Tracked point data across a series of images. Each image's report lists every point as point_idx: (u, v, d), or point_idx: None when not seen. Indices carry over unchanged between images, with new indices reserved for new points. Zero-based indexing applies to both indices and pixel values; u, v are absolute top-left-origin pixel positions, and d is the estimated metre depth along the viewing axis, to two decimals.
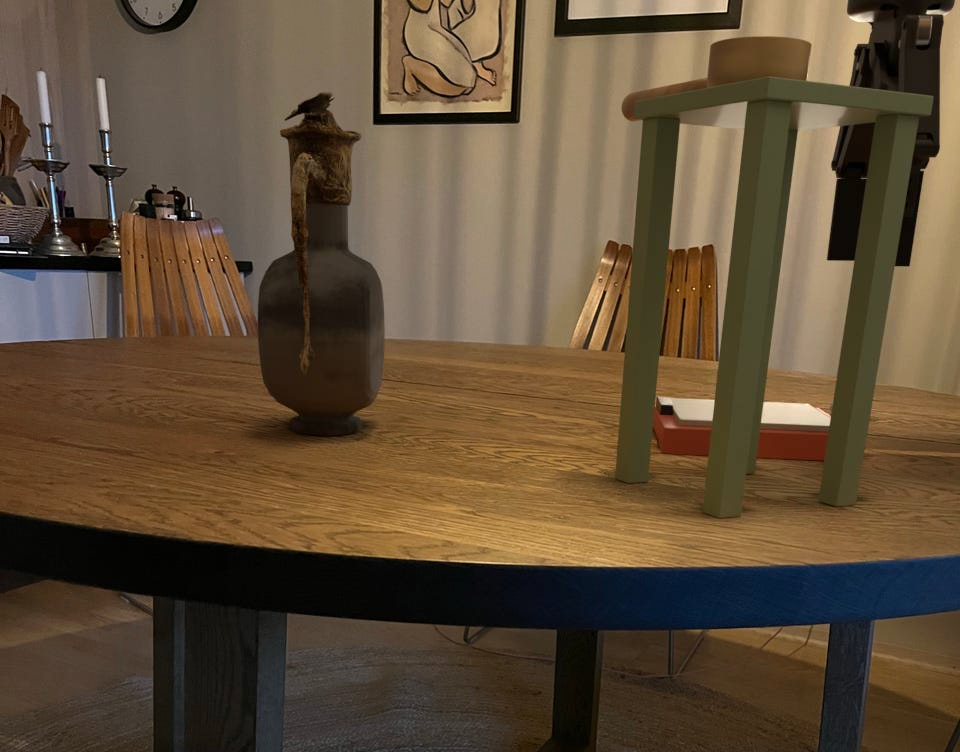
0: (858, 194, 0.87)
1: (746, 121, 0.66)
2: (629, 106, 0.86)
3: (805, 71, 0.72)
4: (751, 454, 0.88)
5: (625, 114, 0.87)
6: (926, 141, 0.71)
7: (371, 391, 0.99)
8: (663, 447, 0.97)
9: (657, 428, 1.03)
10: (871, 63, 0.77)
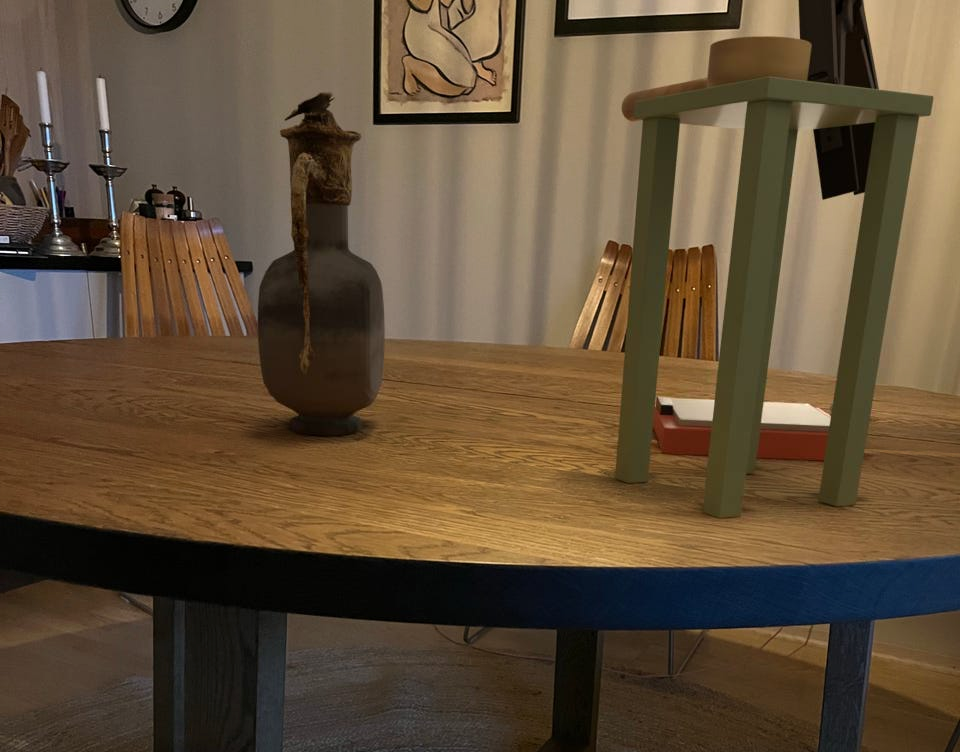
0: (867, 126, 0.90)
1: (746, 121, 0.66)
2: (629, 106, 0.86)
3: (805, 71, 0.72)
4: (751, 454, 0.88)
5: (625, 114, 0.87)
6: (822, 79, 0.77)
7: (371, 391, 0.99)
8: (663, 447, 0.97)
9: (657, 428, 1.03)
10: None
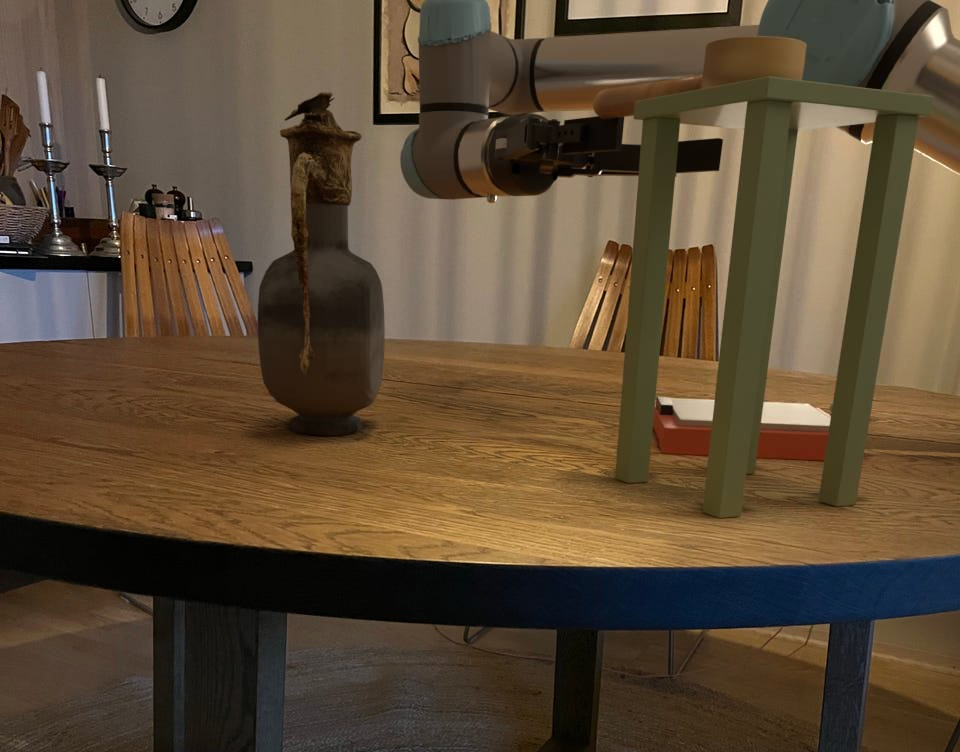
0: None
1: (746, 121, 0.66)
2: (603, 103, 0.85)
3: (802, 72, 0.73)
4: (751, 454, 0.88)
5: (598, 111, 0.86)
6: (527, 129, 0.91)
7: (371, 391, 0.99)
8: (663, 447, 0.97)
9: (657, 428, 1.03)
10: (548, 172, 1.01)
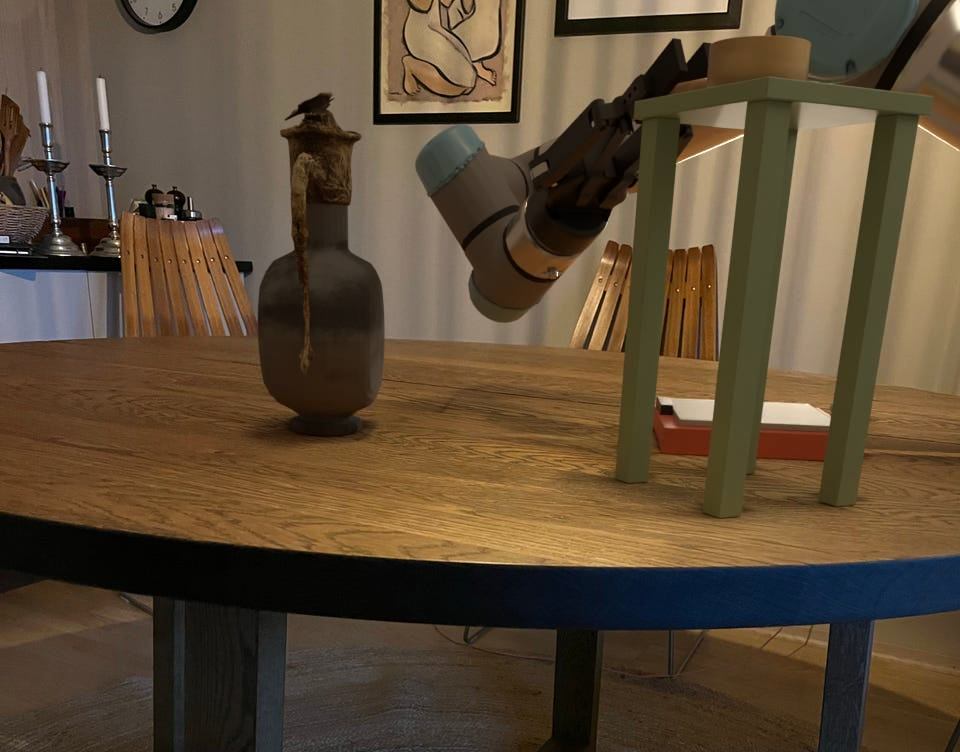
0: None
1: (746, 121, 0.66)
2: None
3: (805, 69, 0.72)
4: (751, 454, 0.88)
5: None
6: (592, 115, 0.85)
7: (371, 391, 0.99)
8: (663, 447, 0.97)
9: (657, 428, 1.03)
10: (588, 198, 0.94)
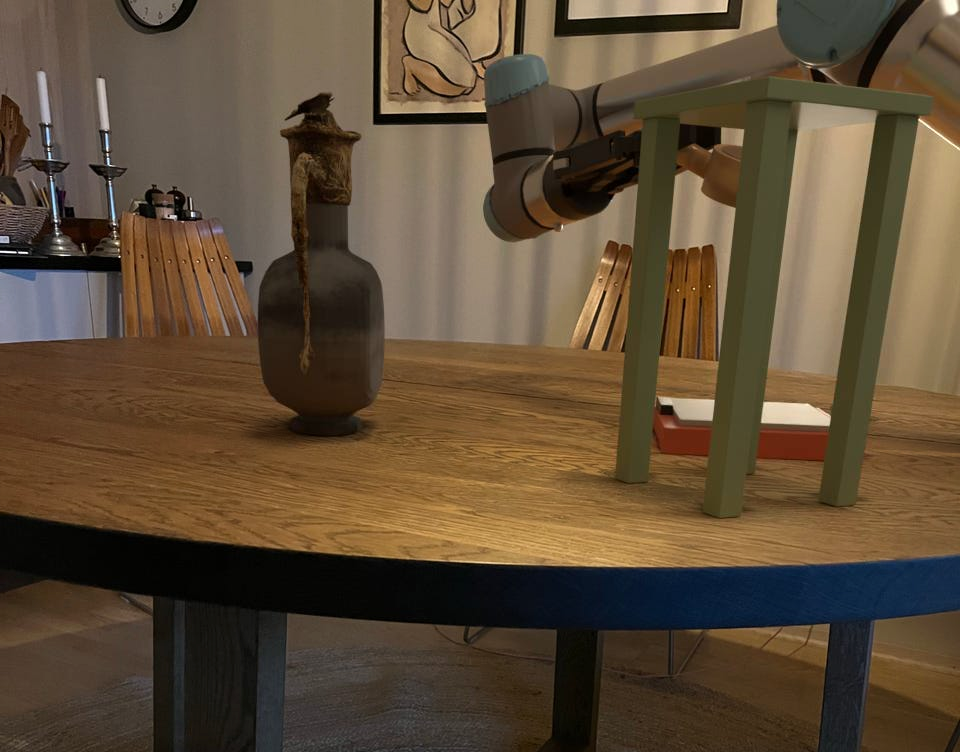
0: None
1: (746, 121, 0.66)
2: None
3: None
4: (751, 454, 0.88)
5: None
6: (613, 142, 1.00)
7: (371, 391, 0.99)
8: (663, 447, 0.97)
9: (657, 428, 1.03)
10: (598, 189, 1.09)
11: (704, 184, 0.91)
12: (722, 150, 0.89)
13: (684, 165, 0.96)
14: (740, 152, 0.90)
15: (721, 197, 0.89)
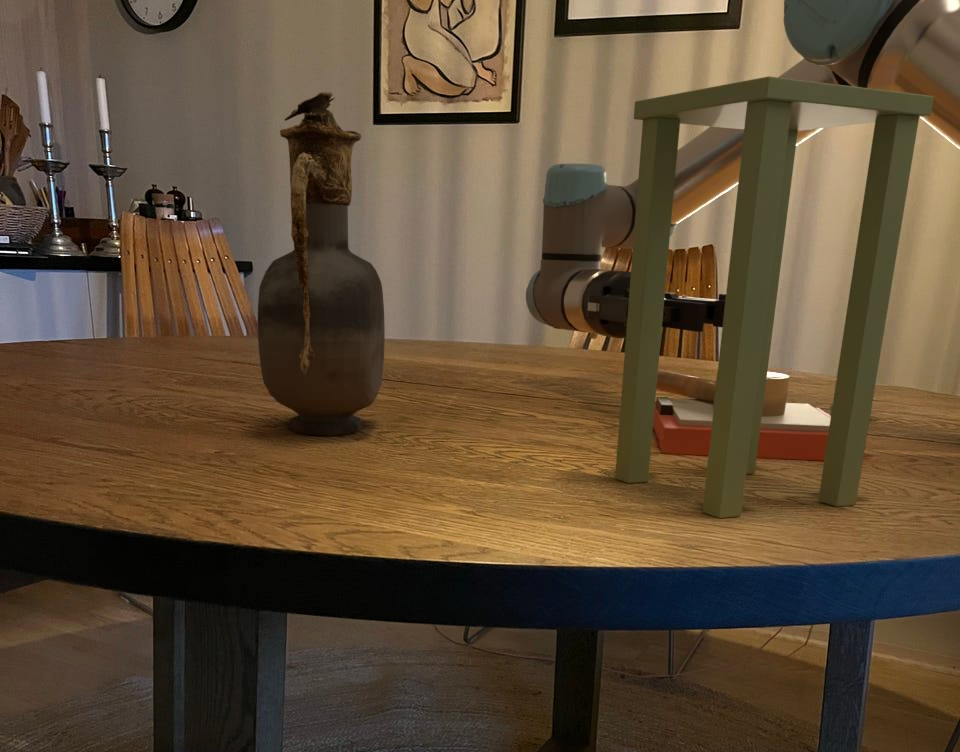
0: (721, 309, 1.10)
1: (746, 121, 0.66)
2: None
3: (785, 396, 1.01)
4: (751, 454, 0.88)
5: None
6: None
7: (371, 391, 0.99)
8: (663, 447, 0.97)
9: (657, 428, 1.03)
10: None
11: None
12: None
13: (695, 395, 1.10)
14: None
15: None
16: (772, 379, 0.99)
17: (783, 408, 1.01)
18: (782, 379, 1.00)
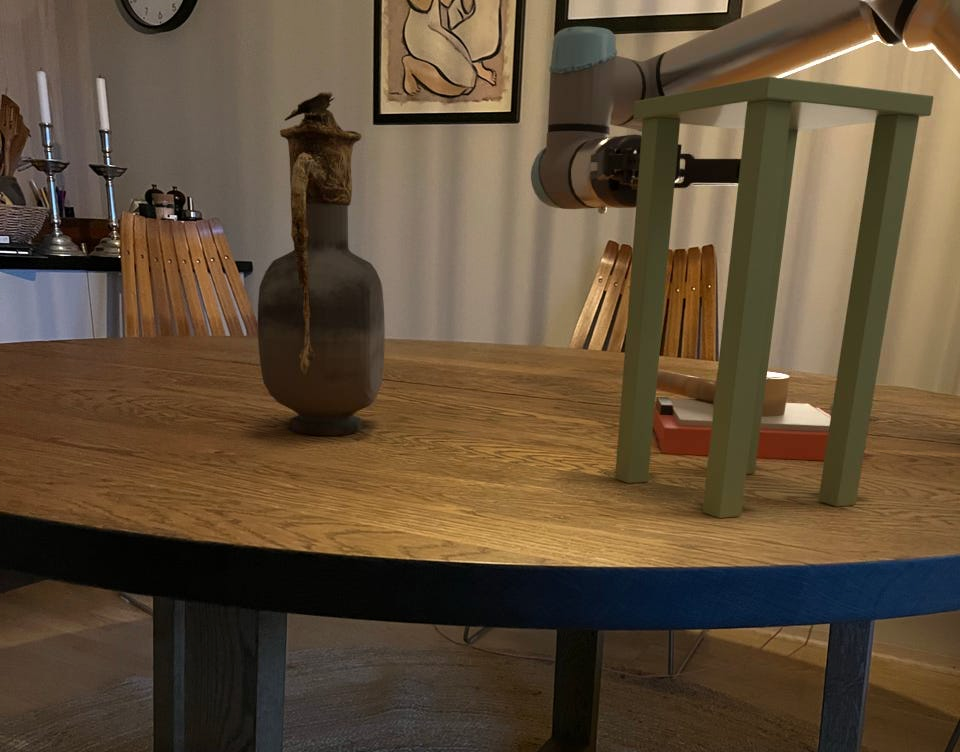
0: None
1: (746, 121, 0.66)
2: None
3: (785, 396, 1.01)
4: (751, 454, 0.88)
5: None
6: (603, 158, 1.03)
7: (371, 391, 0.99)
8: (663, 447, 0.97)
9: (657, 428, 1.03)
10: None
11: None
12: None
13: (695, 395, 1.10)
14: None
15: None
16: (772, 379, 0.99)
17: (783, 408, 1.01)
18: (782, 379, 1.00)
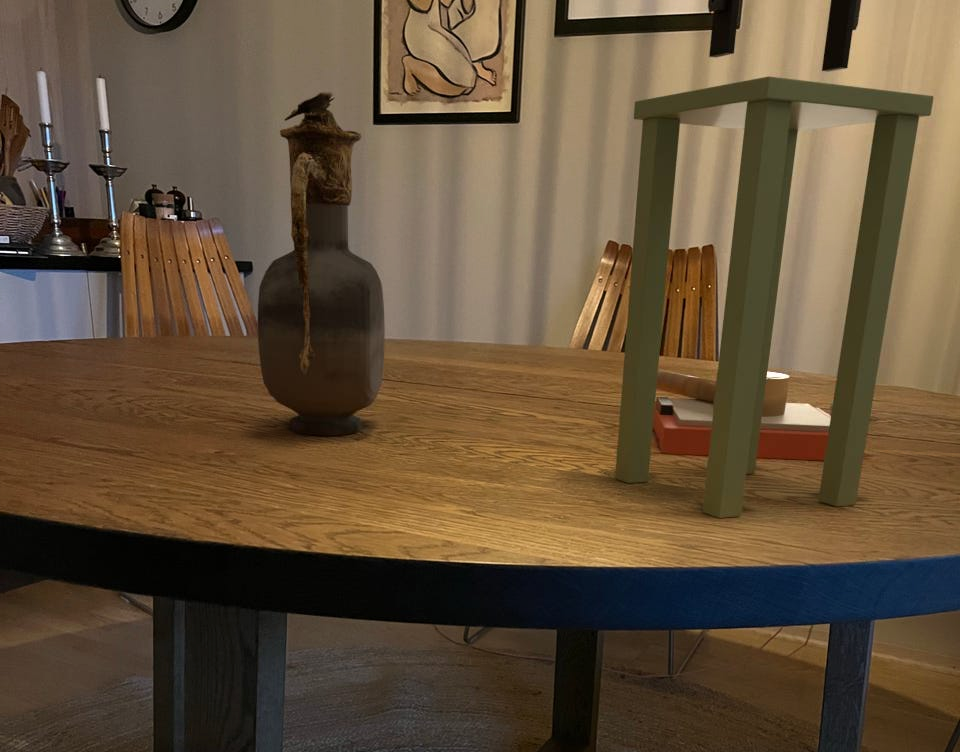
0: (843, 5, 0.98)
1: (746, 121, 0.66)
2: None
3: (785, 396, 1.01)
4: (751, 454, 0.88)
5: None
6: None
7: (371, 391, 0.99)
8: (663, 447, 0.97)
9: (657, 428, 1.03)
10: None
11: None
12: None
13: (695, 395, 1.10)
14: None
15: None
16: (772, 379, 0.99)
17: (783, 408, 1.01)
18: (782, 379, 1.00)
